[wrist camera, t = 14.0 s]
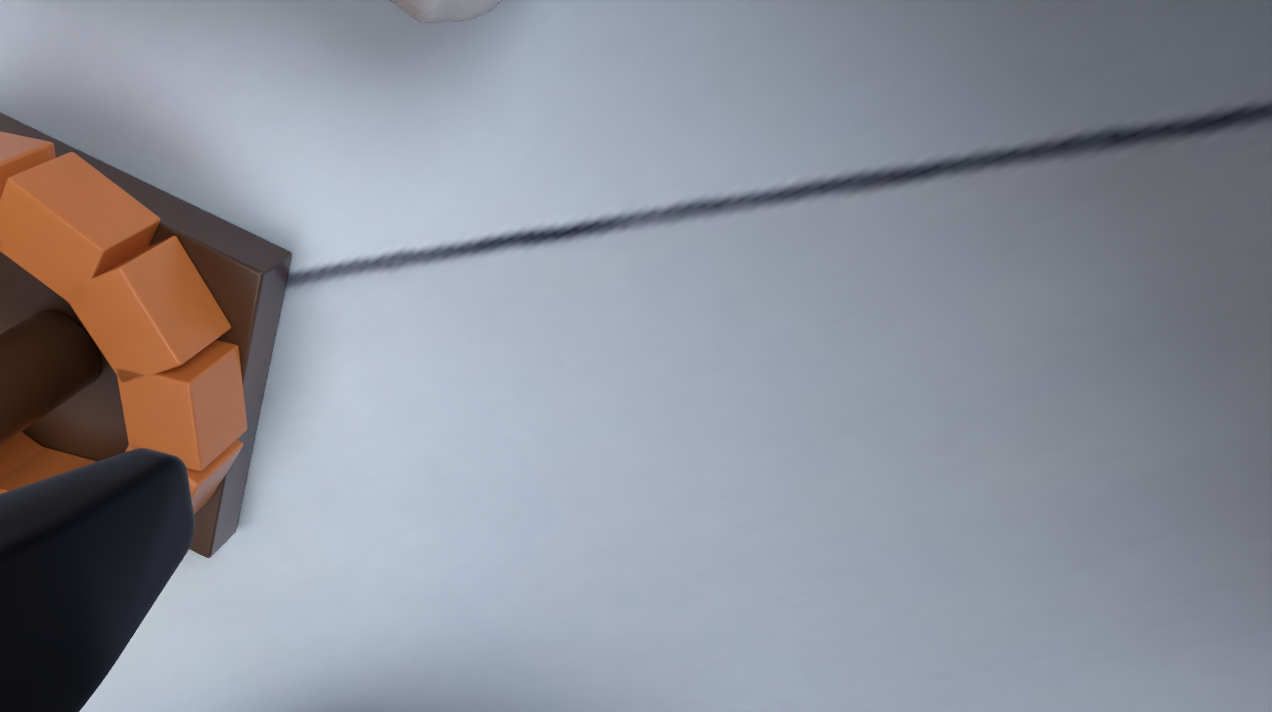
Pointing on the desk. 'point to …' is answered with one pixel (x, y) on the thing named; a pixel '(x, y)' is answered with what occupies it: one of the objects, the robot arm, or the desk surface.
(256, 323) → the post
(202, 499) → the ring
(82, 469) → the robot arm
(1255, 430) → the desk surface
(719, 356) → the desk surface
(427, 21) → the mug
